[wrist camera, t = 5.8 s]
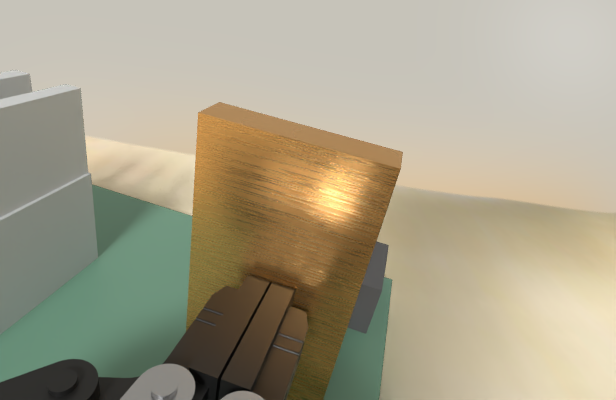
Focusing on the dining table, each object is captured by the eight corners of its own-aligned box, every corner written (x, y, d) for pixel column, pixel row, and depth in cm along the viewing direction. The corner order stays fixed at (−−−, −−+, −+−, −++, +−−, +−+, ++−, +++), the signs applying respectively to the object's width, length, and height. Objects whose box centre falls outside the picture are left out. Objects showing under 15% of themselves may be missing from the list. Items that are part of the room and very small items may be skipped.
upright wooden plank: (310, 435, 15) (400, 168, 9) (182, 387, 15) (198, 112, 10) (340, 321, 20) (408, 109, 14) (243, 289, 20) (275, 74, 15)
